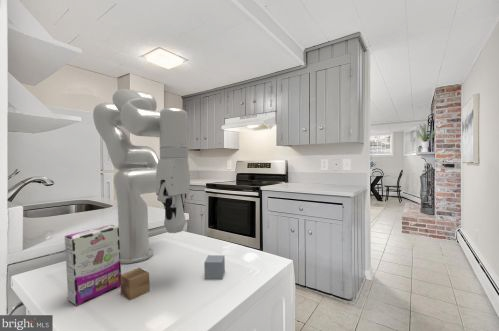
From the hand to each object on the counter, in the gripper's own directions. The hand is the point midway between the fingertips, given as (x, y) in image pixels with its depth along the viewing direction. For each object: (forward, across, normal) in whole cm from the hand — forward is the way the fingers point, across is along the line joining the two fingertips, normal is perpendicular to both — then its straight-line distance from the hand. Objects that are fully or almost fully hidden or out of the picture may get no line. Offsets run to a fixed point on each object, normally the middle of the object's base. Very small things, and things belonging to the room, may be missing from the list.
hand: (175, 219), depth 67 cm
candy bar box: (+18, +11, -17) cm, 27 cm away
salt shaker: (+3, 0, 0) cm, 3 cm away
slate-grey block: (+18, -6, +9) cm, 21 cm away
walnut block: (+18, +8, -7) cm, 21 cm away
